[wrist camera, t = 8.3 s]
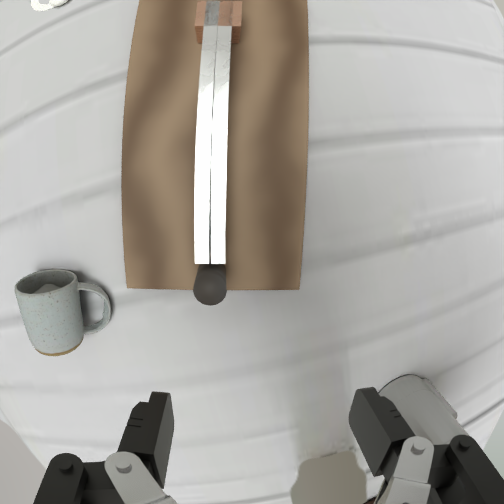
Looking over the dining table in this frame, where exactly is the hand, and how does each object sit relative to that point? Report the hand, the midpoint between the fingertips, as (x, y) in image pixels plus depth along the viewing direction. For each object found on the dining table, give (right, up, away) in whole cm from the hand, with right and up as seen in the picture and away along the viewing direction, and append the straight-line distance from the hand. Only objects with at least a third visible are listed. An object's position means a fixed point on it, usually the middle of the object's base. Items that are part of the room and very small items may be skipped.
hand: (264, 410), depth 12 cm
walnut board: (-4, +19, +16) cm, 25 cm away
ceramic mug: (-21, +1, +20) cm, 29 cm away
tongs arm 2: (-5, +18, +15) cm, 24 cm away
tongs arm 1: (-3, +18, +15) cm, 24 cm away
